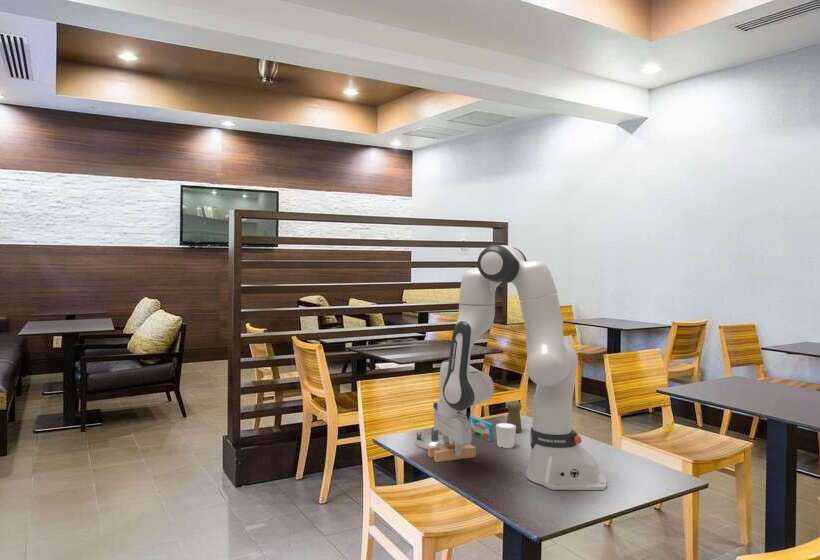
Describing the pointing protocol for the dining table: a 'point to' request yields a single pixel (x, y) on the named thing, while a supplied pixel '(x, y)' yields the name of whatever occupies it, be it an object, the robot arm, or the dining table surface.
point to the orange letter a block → (450, 452)
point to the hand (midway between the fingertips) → (451, 451)
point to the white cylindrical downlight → (505, 435)
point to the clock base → (430, 439)
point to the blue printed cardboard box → (481, 428)
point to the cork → (514, 415)
